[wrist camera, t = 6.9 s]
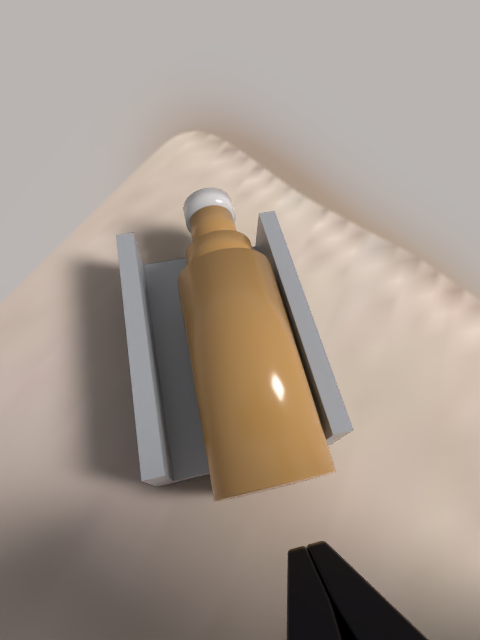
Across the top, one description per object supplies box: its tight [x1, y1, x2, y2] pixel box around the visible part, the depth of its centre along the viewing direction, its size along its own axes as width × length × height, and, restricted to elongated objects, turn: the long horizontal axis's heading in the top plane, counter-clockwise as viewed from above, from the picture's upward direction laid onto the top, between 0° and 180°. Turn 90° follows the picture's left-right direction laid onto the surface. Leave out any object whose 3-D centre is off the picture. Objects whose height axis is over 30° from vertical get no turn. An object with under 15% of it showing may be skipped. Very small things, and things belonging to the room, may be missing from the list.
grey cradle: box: [116, 211, 353, 487], centre depth 17 cm, size 11×8×3 cm
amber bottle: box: [177, 188, 336, 502], centre depth 16 cm, size 4×4×14 cm
